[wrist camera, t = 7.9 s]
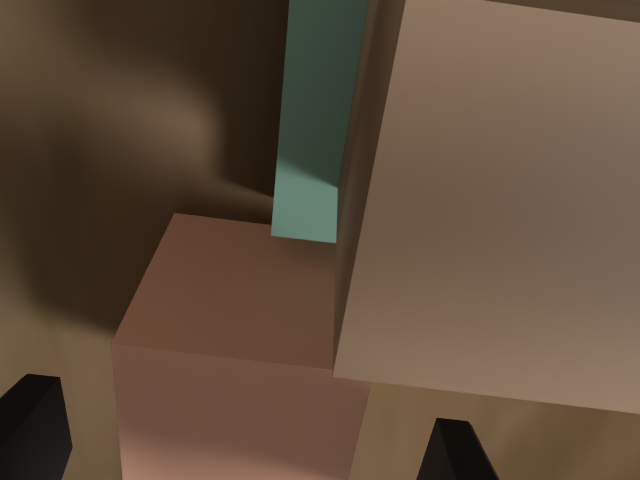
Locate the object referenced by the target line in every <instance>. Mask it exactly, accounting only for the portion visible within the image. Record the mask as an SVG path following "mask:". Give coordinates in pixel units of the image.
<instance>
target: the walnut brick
mask: <svg viewBox="0 0 640 480" xmlns="http://www.w3.org/2000/svg"><path fill="white" fill-rule="evenodd" d="M332 377H338V378H347V379H355V380H363V381H372V382H380V383H388V384H397V385H405V386H413V387H422V388H430V389H438V390H447V391H455V392H463V393H472V394H480V395H488V396H497V397H505V398H513V399H522V400H530V401H538V402H547V403H555V404H563V405H572V406H580V407H588V408H597V409H605V410H613V411H622V412H630V413H638V414H640V0H368V5H367V11H366V17H365V23H364V29H363V35H362V42H361V48H360V54H359V60H358V66H357V72H356V78H355V85H354V91H353V97H352V103H351V109H350V115H349V122H348V128H347V134H346V140H345V146H344V152H343V158H342V165H341V171H340V177H339V183H338V196H337V231H336V267H335V303H334V338H333V374H332Z"/></svg>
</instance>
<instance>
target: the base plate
mask: <svg viewBox="0 0 640 480" xmlns="http://www.w3.org/2000/svg"><path fill="white" fill-rule="evenodd" d="M367 5H368V0H289V13H288V26H287V38H286V51H285V64H284V76H283V89H282V102H281V114H280V127H279V140H278V152H277V165H276V178H275V190H274V203H273V216H272V228H271V236H278V237H286V238H295V239H304V240H312V241H321V242H330V243H336V231H337V196H338V183H339V177H340V171H341V165H342V158H343V152H344V146H345V140H346V134H347V128H348V122H349V115H350V109H351V103H352V97H353V91H354V85H355V78H356V72H357V66H358V60H359V54H360V48H361V42H362V35H363V29H364V23H365V17H366V11H367Z"/></svg>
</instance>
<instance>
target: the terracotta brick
mask: <svg viewBox="0 0 640 480" xmlns="http://www.w3.org/2000/svg"><path fill="white" fill-rule="evenodd" d="M271 228H272V225H267V224H259V223H251V222H243V221H235V220H227V219H219V218H212V217H204V216H196V215H188V214H180V213H174V215H173V217H172V219H171V221H170V223H169V225H168V227H167V229H166V231H165V233H164V235H163V237H162V239H161V241H160V243H159V246H158V248H157V250H156V252H155V254H154V256H153V258H152V260H151V262H150V264H149V266H148V268H147V270H146V272H145V274H144V276H143V279H142V281H141V283H140V285H139V287H138V289H137V291H136V293H135V295H134V297H133V299H132V301H131V303H130V305H129V307H128V309H127V311H126V314H125V316H124V318H123V320H122V322H121V324H120V326H119V328H118V330H117V332H116V334H115V336H114V338H113V340H112V342H111V351H112V363H113V374H114V385H115V396H116V408H117V419H118V430H119V441H120V453H121V464H122V475H123V480H348V477H349V473H350V469H351V465H352V461H353V457H354V453H355V449H356V444H357V440H358V436H359V432H360V428H361V424H362V420H363V416H364V412H365V408H366V403H367V399H368V395H369V391H370V387H371V383H372V381H363V380H355V379H347V378H338V377H332V374H333V338H334V303H335V267H336V243H330V242H321V241H312V240H304V239H295V238H286V237H278V236H271Z"/></svg>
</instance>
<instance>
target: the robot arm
mask: <svg viewBox="0 0 640 480" xmlns="http://www.w3.org/2000/svg"><path fill="white" fill-rule="evenodd" d="M72 447H73V446H72V441H71V435H70V430H69V424H68V419H67V413H66V408H65V402H64V397H63V391H62V386H61V380H60V377H53V376H44V375H35V374H27V375H25V376H24V377H22V378H21V379H20V380H19V381H18V382H17V383H16V384H15V385H14V386H13V387H12V388H10V389H9V390H8V391H7V392H6V393H5V394H4V395H3V396H2V397H1V398H0V480H61V479H62V477H63V474H64V471H65V468H66V465H67V462H68V459H69V456H70V453H71V450H72ZM417 480H499V478H498V476H497V474H496V472H495V470H494V469H493V467H492V465H491V463H490V461H489V459H488V457H487V455H486V453H485V451H484V449H483V447H482V445H481V443H480V441H479V439H478V437H477V435H476V433H475V431H474V429H473V427H472V425H471V424H470V423H469V422H468V421H461V420H452V419H443V418H436V421H435V424H434V427H433V431H432V434H431V437H430V440H429V443H428V446H427V449H426V452H425V455H424V458H423V461H422V464H421V467H420V470H419V473H418V477H417Z"/></svg>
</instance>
